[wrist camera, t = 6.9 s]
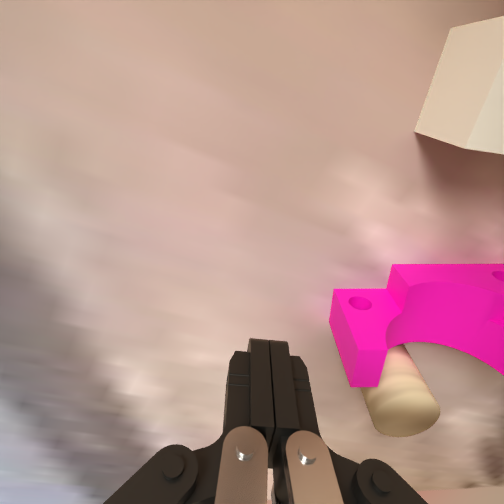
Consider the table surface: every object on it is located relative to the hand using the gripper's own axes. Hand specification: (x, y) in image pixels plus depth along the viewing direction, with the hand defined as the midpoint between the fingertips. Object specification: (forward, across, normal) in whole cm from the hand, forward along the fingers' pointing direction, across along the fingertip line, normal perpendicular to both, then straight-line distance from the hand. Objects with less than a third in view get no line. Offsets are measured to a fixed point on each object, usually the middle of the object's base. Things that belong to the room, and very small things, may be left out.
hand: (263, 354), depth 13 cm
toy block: (+14, -15, +6) cm, 22 cm away
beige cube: (+14, -13, -10) cm, 22 cm away
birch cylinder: (+14, -13, +12) cm, 22 cm away
